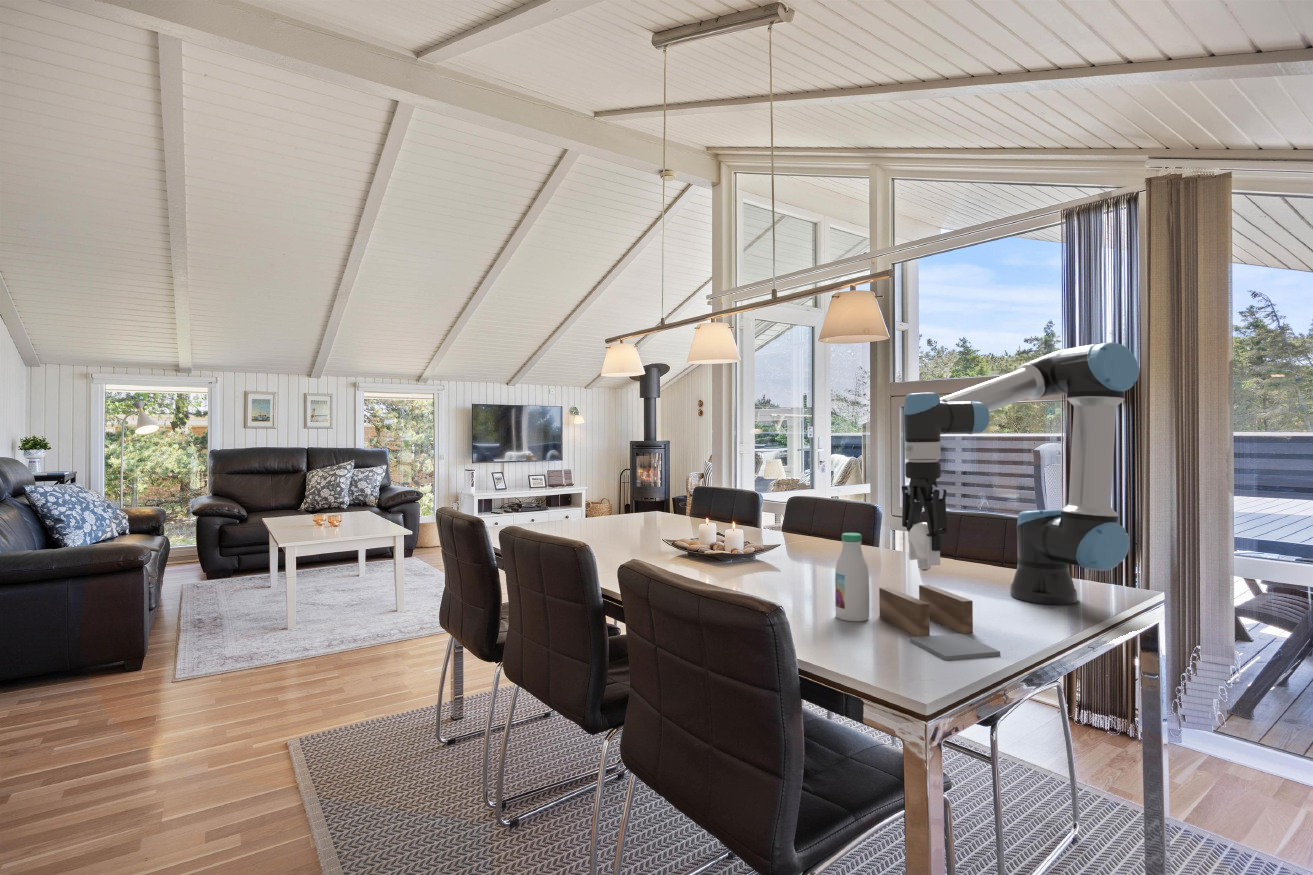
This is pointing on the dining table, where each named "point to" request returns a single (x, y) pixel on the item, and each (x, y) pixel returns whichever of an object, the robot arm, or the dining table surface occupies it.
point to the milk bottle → (852, 581)
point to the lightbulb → (920, 543)
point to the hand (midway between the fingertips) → (924, 561)
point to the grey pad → (954, 646)
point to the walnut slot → (926, 610)
